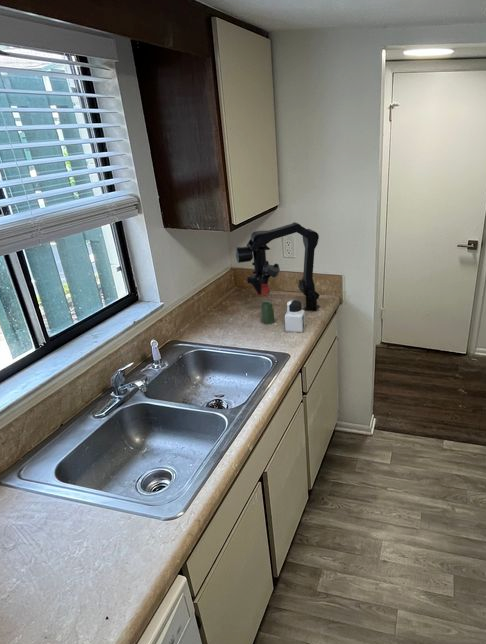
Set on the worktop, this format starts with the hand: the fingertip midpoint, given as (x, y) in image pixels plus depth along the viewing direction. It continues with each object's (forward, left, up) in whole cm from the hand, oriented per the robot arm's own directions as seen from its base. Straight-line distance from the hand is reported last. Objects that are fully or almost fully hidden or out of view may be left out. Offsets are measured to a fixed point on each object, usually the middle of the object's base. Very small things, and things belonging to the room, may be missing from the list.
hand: (262, 291), depth 205 cm
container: (+9, +19, -13) cm, 24 cm away
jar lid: (0, 0, 0) cm, 0 cm away
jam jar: (+4, +4, -13) cm, 14 cm away
